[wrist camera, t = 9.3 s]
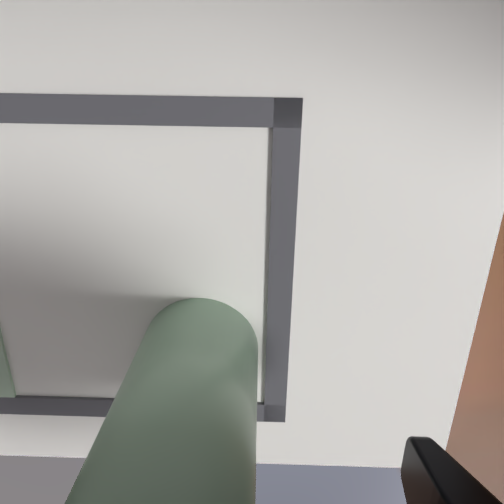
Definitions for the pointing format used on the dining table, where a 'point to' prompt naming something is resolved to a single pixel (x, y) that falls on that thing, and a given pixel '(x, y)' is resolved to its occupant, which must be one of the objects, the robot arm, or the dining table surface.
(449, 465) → the robot arm
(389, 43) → the board
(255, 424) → the cylinder
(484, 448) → the dining table surface
